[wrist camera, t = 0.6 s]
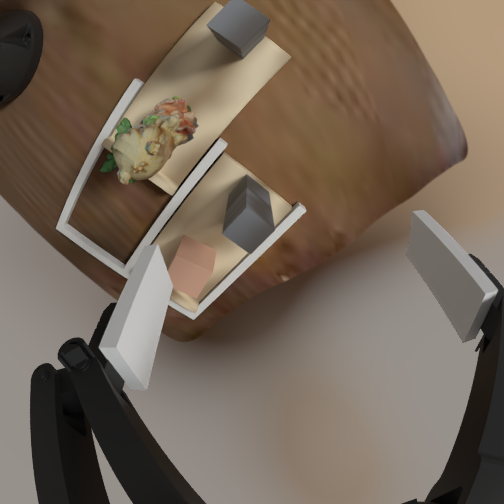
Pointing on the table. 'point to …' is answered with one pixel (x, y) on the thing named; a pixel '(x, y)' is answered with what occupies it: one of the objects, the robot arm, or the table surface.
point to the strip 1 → (209, 80)
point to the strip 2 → (223, 220)
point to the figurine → (150, 140)
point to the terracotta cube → (191, 266)
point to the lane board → (166, 213)
